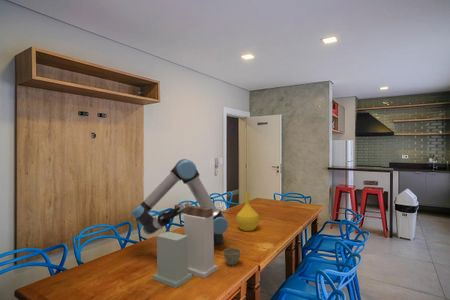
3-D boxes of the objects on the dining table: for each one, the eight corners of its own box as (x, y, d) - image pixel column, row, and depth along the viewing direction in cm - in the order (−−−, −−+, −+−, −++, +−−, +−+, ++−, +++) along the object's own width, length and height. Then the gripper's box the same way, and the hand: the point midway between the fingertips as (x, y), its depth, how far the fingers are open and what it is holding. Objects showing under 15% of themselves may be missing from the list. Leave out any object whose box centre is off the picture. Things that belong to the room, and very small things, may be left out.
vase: (233, 231, 210) (233, 194, 210) (239, 225, 228) (239, 190, 227) (256, 233, 204) (255, 195, 204) (261, 227, 222) (260, 191, 221)
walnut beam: (174, 212, 152) (174, 205, 152) (179, 210, 155) (179, 203, 155) (208, 217, 139) (207, 209, 139) (212, 215, 142) (212, 208, 142)
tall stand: (181, 270, 144) (180, 215, 144) (195, 262, 154) (194, 211, 154) (204, 278, 136) (203, 219, 135) (217, 269, 146) (216, 214, 145)
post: (153, 279, 135) (152, 236, 135) (170, 270, 145) (169, 230, 145) (175, 288, 126) (175, 242, 126) (192, 277, 136) (191, 235, 136)
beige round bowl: (230, 258, 160) (230, 246, 160) (244, 262, 153) (244, 250, 153) (220, 264, 152) (219, 251, 152) (233, 269, 146) (233, 256, 146)
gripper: (174, 222, 167) (199, 207, 155) (153, 229, 152) (179, 214, 141) (169, 211, 169) (194, 196, 157) (148, 217, 154) (173, 201, 143)
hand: (186, 204), depth 149 cm, fingers closed on walnut beam, 4 cm apart
